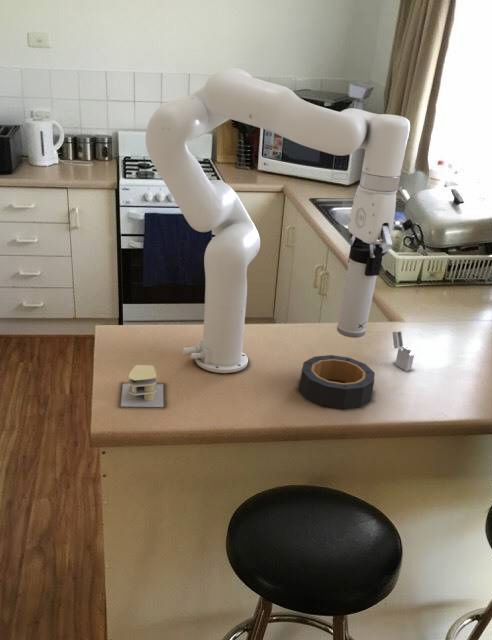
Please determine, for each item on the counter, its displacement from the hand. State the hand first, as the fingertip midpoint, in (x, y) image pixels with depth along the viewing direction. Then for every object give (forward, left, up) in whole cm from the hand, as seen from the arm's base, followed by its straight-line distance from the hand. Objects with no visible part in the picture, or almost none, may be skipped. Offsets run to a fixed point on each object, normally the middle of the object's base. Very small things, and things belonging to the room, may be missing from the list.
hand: (363, 268), depth 146 cm
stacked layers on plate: (-46, +5, -28) cm, 54 cm away
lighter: (+19, +7, -28) cm, 35 cm away
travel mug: (0, 0, -15) cm, 15 cm away
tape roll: (-3, -2, -28) cm, 28 cm away
